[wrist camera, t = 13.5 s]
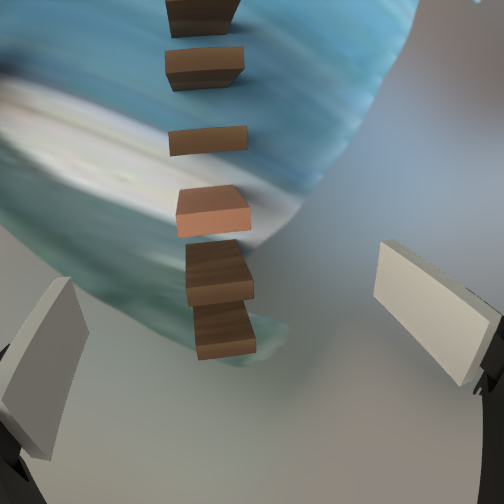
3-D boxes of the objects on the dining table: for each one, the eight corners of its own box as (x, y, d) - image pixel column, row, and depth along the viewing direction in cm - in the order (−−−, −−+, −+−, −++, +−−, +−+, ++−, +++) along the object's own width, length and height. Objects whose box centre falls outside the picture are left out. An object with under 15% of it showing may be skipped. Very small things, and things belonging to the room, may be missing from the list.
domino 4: (179, 190, 28) (175, 215, 20) (232, 184, 29) (250, 207, 21) (181, 206, 29) (178, 237, 21) (233, 201, 29) (251, 229, 21)
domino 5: (185, 244, 30) (185, 288, 22) (235, 239, 31) (253, 280, 23) (187, 259, 31) (188, 306, 23) (236, 253, 32) (254, 298, 23)
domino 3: (175, 132, 26) (168, 131, 18) (229, 127, 27) (246, 125, 19) (176, 149, 27) (170, 156, 18) (230, 144, 27) (247, 149, 19)
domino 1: (171, 23, 22) (165, -17, 13) (225, 20, 22) (240, -20, 14) (171, 38, 22) (165, 1, 14) (225, 34, 23) (241, -2, 15)
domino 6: (192, 292, 32) (195, 346, 24) (238, 287, 33) (255, 338, 25) (194, 305, 33) (198, 360, 25) (239, 299, 34) (256, 352, 26)
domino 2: (172, 75, 24) (165, 51, 16) (227, 71, 25) (243, 46, 16) (172, 91, 24) (165, 73, 16) (227, 87, 25) (244, 68, 17)
